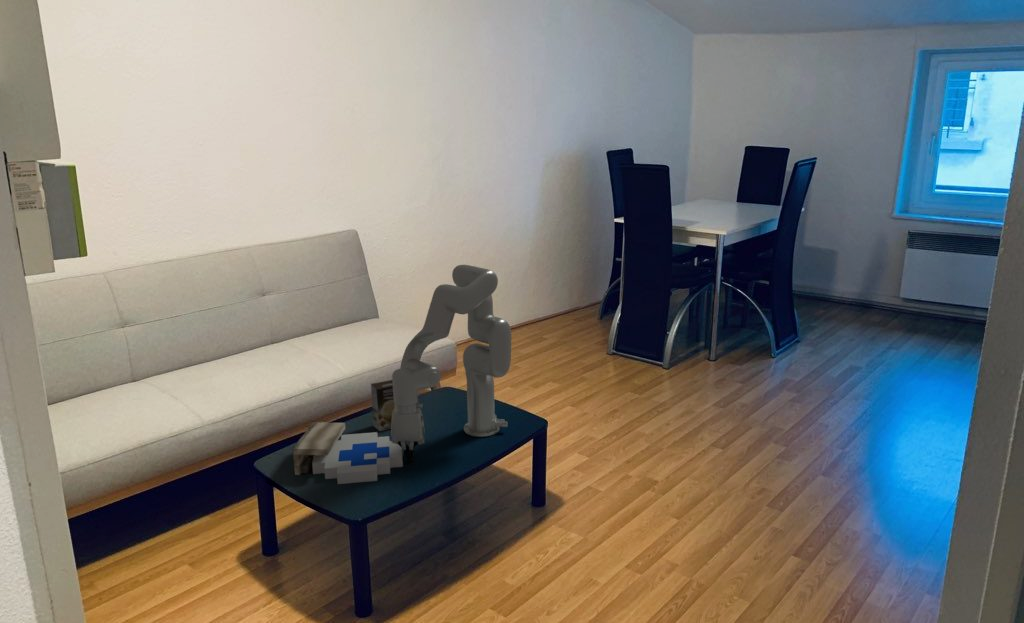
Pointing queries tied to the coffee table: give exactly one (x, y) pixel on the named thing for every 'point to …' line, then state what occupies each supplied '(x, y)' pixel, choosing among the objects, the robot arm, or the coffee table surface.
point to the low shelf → (315, 444)
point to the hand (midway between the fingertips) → (409, 459)
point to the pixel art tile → (359, 458)
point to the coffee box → (382, 404)
